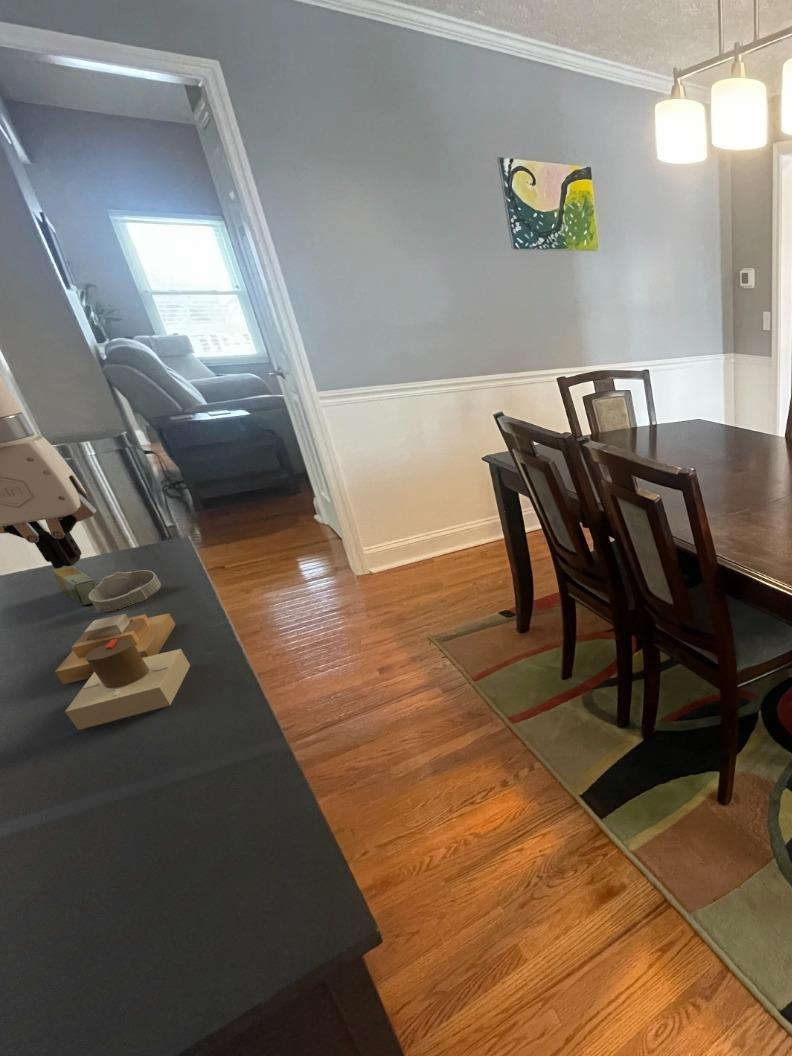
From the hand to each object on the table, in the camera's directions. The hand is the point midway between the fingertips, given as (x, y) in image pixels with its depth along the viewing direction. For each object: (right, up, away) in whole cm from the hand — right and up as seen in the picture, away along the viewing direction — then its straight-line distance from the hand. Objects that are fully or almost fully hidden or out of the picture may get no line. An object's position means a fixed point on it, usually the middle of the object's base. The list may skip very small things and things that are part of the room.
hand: (68, 563), depth 82 cm
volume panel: (+13, -18, -3) cm, 22 cm away
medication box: (-24, -6, +24) cm, 35 cm away
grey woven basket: (-14, -7, +22) cm, 26 cm away
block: (0, -13, +7) cm, 15 cm away
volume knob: (+12, -15, -4) cm, 20 cm away
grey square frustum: (0, -10, +5) cm, 11 cm away
